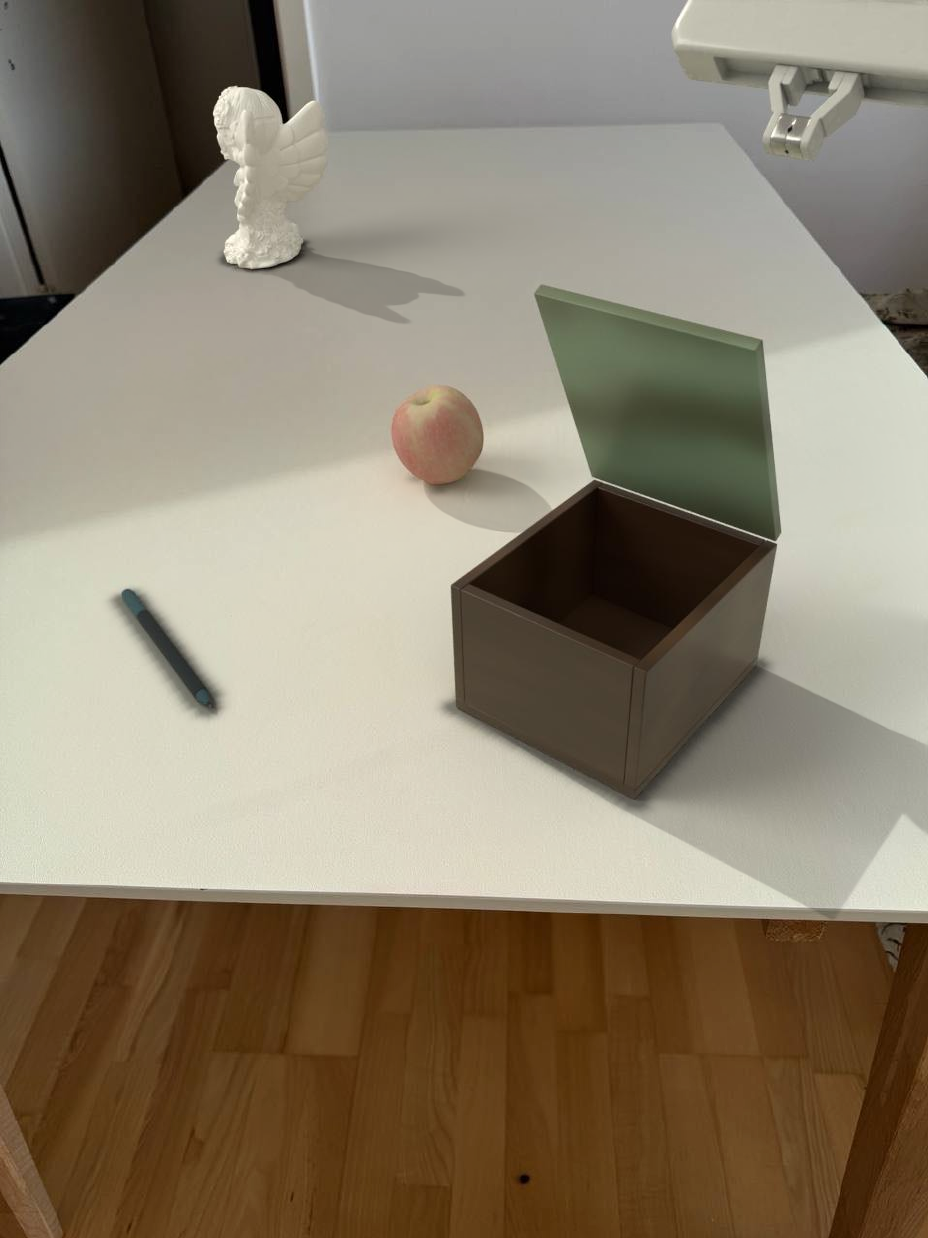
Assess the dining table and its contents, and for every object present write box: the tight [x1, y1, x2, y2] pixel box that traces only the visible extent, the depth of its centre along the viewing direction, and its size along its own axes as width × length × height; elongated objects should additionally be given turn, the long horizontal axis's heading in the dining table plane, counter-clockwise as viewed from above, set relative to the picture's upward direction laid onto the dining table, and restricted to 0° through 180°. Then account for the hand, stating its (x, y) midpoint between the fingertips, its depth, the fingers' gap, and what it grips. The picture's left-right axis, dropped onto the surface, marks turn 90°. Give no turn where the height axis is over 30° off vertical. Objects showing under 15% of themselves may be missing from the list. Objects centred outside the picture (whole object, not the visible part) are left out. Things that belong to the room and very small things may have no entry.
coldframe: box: [450, 479, 778, 800], centre depth 70 cm, size 16×14×10 cm
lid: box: [533, 284, 782, 542], centre depth 65 cm, size 17×14×1 cm
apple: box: [390, 384, 485, 485], centre depth 93 cm, size 8×8×8 cm
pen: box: [121, 588, 212, 708], centre depth 77 cm, size 1×16×1 cm, turn 34°
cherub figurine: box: [212, 85, 330, 270], centre depth 137 cm, size 13×12×20 cm
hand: (786, 151), depth 64 cm, fingers closed
